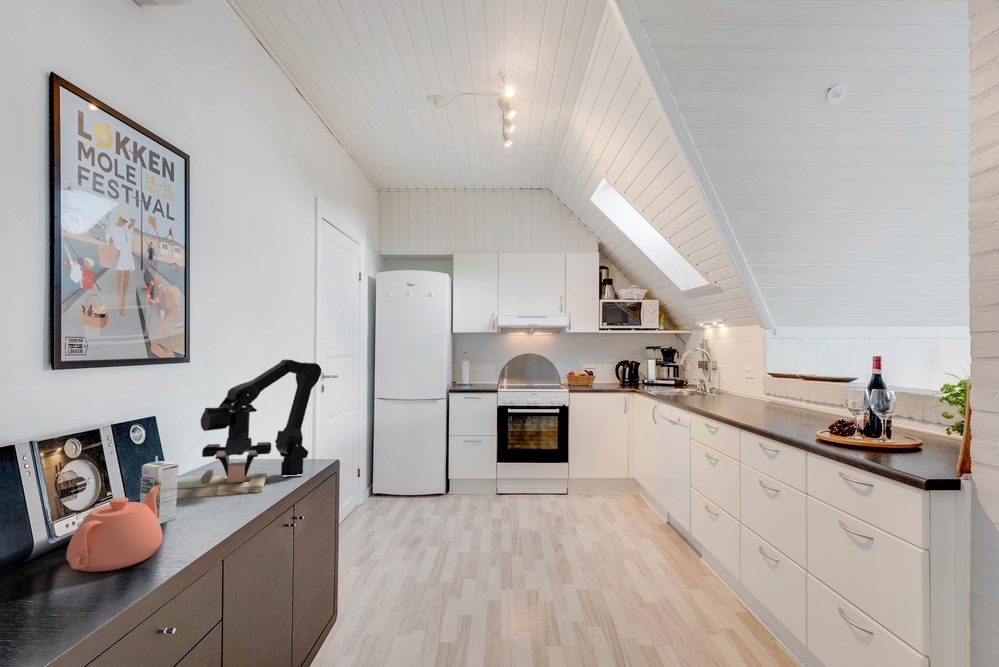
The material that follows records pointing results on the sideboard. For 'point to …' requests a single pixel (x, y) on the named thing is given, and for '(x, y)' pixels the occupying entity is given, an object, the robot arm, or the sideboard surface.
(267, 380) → the robot arm
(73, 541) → the teapot
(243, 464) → the block
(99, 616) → the sideboard surface
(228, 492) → the puzzle board
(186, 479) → the cover
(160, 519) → the syrup box
